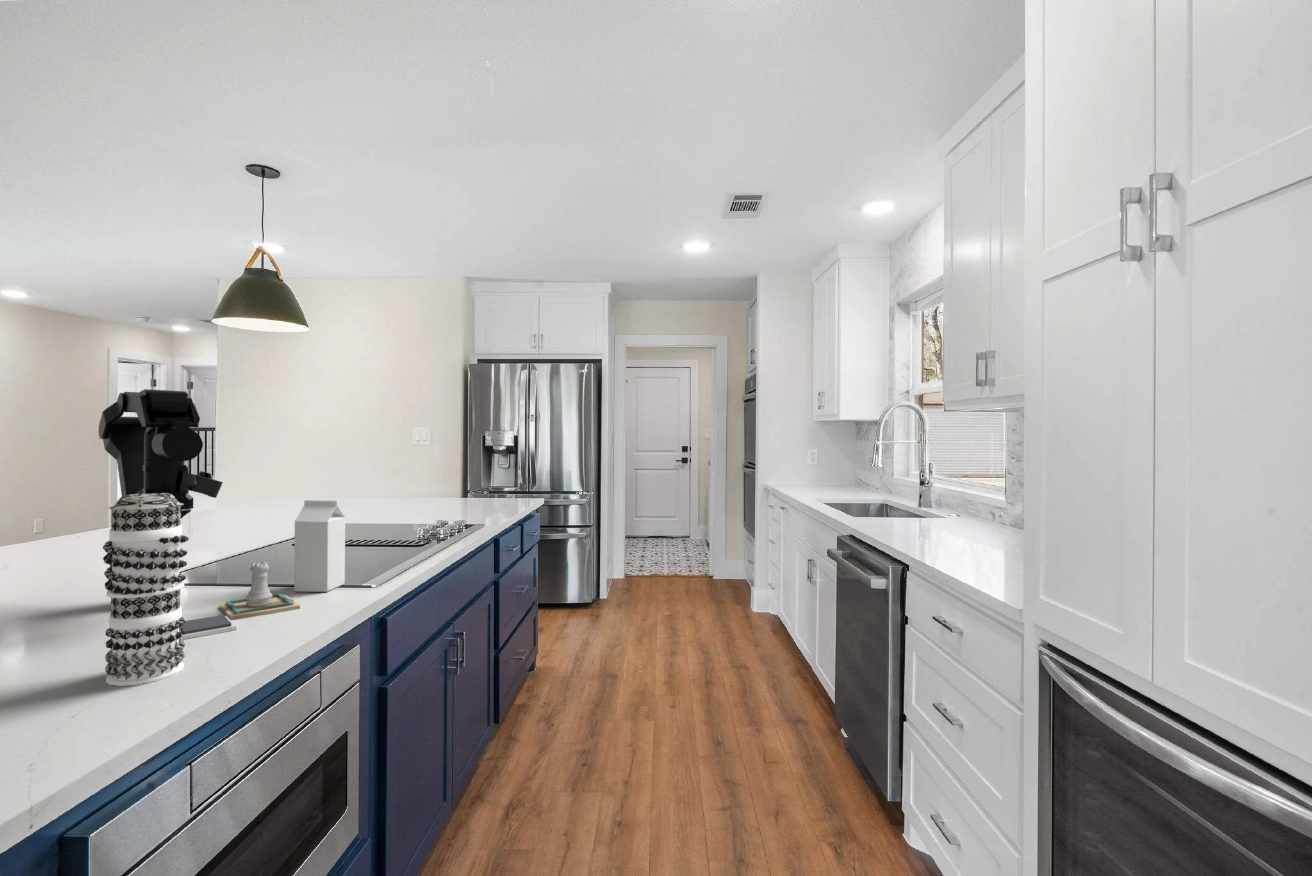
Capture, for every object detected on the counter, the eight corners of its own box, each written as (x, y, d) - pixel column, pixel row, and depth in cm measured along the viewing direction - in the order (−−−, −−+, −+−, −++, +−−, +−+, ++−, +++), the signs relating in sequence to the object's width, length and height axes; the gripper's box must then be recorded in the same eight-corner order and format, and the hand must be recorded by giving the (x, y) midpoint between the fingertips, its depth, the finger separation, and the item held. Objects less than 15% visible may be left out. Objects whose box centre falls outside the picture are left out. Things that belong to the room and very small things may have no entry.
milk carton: (327, 592, 129) (327, 502, 129) (293, 592, 130) (294, 502, 129) (344, 584, 137) (345, 499, 136) (313, 583, 137) (314, 498, 137)
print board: (219, 607, 118) (219, 601, 118) (284, 596, 126) (284, 591, 126) (231, 619, 110) (231, 613, 110) (299, 608, 118) (299, 602, 118)
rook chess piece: (259, 608, 115) (260, 565, 115) (239, 606, 116) (239, 564, 116) (278, 602, 120) (279, 561, 120) (259, 600, 121) (259, 559, 120)
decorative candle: (177, 656, 92) (178, 490, 92) (196, 672, 86) (197, 494, 86) (96, 674, 85) (96, 494, 85) (110, 693, 79) (110, 499, 79)
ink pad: (170, 628, 105) (170, 622, 105) (226, 619, 110) (226, 613, 110) (177, 640, 99) (177, 633, 99) (236, 629, 105) (236, 623, 105)
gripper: (228, 460, 110) (228, 547, 110) (209, 456, 123) (209, 534, 124) (148, 461, 102) (147, 555, 102) (137, 458, 116) (136, 540, 116)
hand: (164, 545), depth 111 cm, fingers open, 9 cm apart
